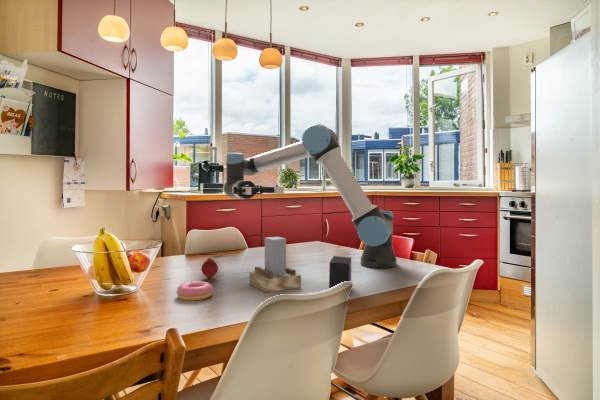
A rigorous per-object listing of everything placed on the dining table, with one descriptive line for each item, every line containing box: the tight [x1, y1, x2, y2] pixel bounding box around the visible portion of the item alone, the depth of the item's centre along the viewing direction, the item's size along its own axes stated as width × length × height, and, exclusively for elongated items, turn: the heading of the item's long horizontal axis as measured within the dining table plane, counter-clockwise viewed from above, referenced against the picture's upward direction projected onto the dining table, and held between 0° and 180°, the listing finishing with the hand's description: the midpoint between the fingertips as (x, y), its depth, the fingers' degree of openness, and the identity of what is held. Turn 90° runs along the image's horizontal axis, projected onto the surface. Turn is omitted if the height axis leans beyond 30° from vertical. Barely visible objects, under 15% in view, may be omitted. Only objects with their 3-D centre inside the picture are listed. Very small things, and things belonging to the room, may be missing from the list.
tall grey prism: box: [264, 236, 287, 276], centre depth 136 cm, size 5×6×12 cm
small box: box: [328, 255, 352, 289], centre depth 130 cm, size 11×6×10 cm, turn 168°
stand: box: [248, 266, 302, 293], centre depth 137 cm, size 13×13×6 cm
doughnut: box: [175, 280, 214, 302], centre depth 124 cm, size 11×11×4 cm
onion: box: [201, 256, 219, 279], centre depth 146 cm, size 6×6×8 cm
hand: (267, 190), depth 149 cm, fingers open, 13 cm apart
